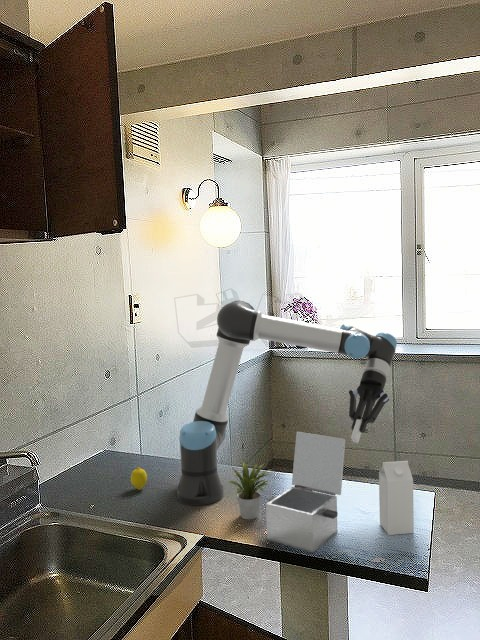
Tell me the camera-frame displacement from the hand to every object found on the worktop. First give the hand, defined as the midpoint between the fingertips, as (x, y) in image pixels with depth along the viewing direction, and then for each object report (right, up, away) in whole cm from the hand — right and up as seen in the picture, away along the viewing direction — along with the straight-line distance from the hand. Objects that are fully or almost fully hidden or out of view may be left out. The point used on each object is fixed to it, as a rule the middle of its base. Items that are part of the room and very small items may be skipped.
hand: (354, 440), depth 167 cm
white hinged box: (-17, -23, -14) cm, 32 cm away
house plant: (-31, -23, -2) cm, 39 cm away
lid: (-12, -5, -8) cm, 15 cm away
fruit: (-68, -22, +24) cm, 76 cm away
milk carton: (+9, -22, -12) cm, 27 cm away
